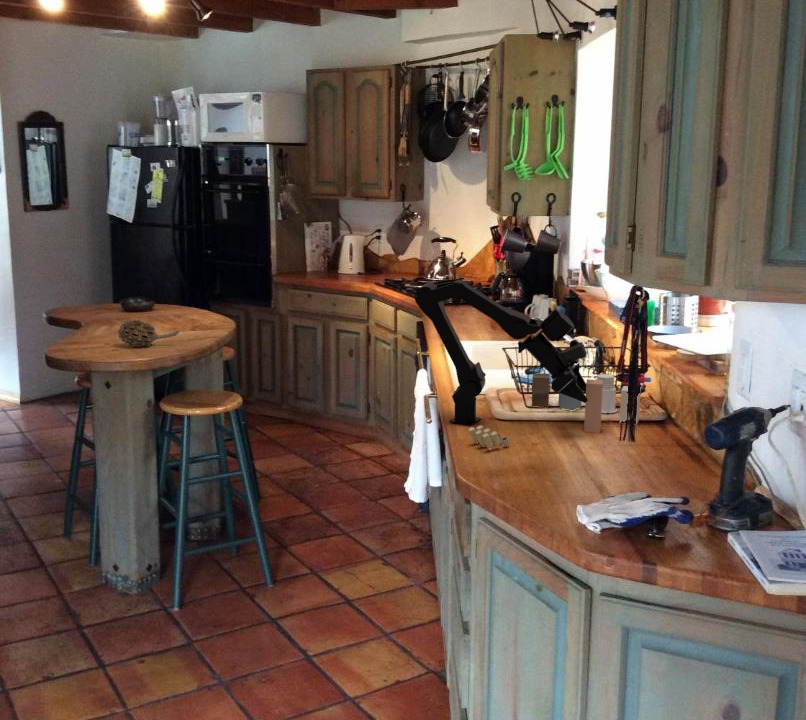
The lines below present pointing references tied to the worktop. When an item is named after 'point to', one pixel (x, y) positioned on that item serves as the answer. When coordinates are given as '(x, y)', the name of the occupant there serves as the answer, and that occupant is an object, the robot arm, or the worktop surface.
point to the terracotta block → (593, 406)
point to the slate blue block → (568, 402)
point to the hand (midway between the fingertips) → (587, 396)
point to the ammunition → (487, 437)
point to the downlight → (608, 393)
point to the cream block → (624, 405)
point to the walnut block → (540, 389)
